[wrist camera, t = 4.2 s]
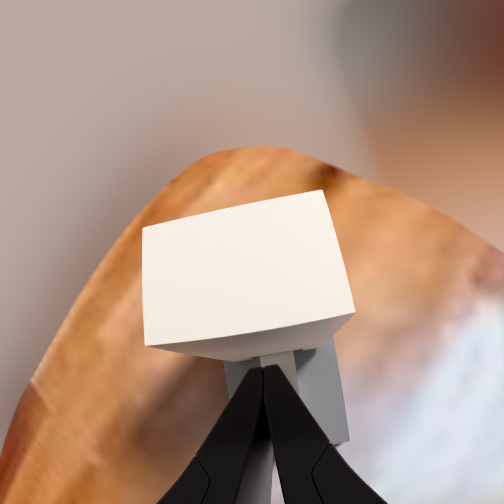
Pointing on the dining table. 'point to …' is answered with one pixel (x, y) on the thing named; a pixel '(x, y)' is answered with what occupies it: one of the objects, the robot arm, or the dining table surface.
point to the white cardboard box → (245, 280)
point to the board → (308, 387)
